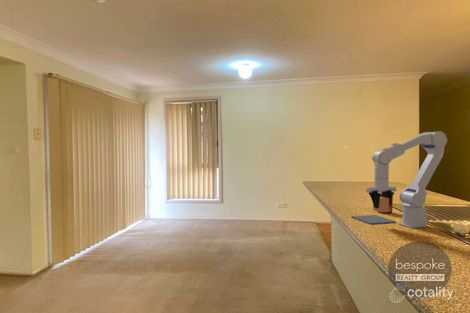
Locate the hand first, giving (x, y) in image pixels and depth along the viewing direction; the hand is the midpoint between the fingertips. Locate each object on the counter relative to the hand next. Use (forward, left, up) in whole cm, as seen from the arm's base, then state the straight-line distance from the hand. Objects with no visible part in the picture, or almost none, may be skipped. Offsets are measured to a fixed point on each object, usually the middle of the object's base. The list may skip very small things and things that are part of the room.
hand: (380, 207), depth 134 cm
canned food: (-22, -24, -9) cm, 34 cm away
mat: (-4, -11, -8) cm, 14 cm away
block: (0, 0, -2) cm, 2 cm away
